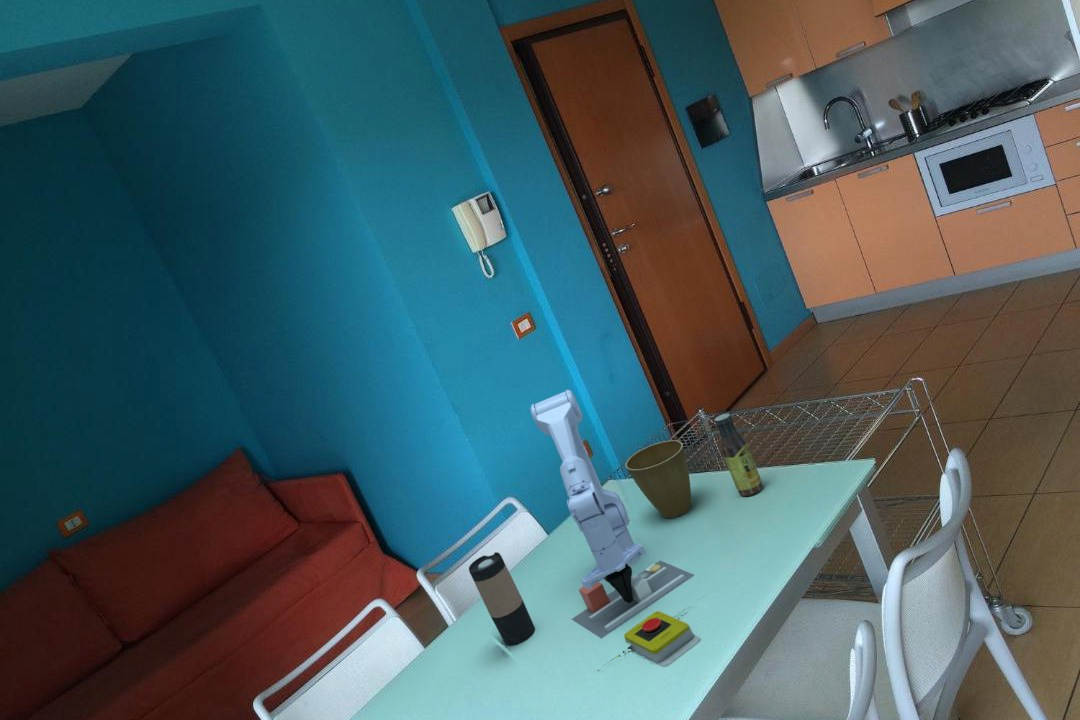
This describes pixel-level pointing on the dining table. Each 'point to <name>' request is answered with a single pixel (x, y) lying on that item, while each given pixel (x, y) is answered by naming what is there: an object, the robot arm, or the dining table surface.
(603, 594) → the block
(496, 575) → the travel mug
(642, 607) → the panel
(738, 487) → the sauce bottle
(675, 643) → the emergency button
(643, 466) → the plant pot
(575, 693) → the dining table surface
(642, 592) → the lever
